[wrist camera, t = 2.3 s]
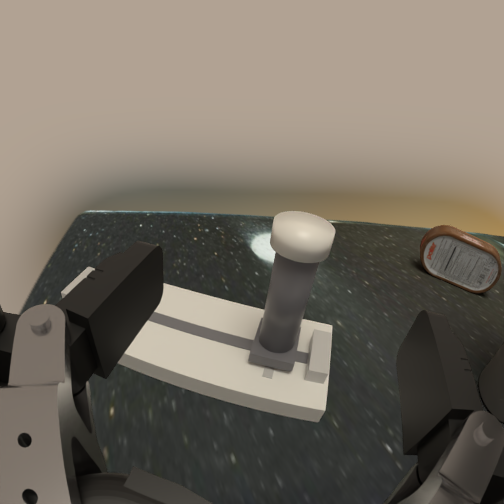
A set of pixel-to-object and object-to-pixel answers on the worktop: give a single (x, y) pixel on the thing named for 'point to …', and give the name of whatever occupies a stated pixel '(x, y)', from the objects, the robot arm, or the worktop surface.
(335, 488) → the worktop surface
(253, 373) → the console
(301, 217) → the fader
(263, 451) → the worktop surface
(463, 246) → the tin
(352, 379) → the worktop surface
